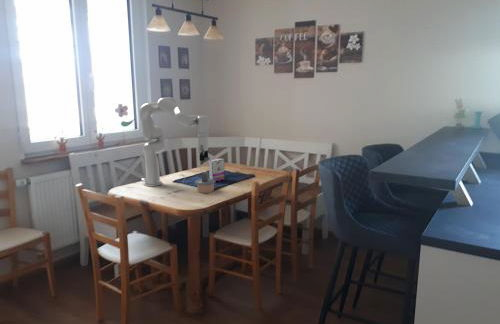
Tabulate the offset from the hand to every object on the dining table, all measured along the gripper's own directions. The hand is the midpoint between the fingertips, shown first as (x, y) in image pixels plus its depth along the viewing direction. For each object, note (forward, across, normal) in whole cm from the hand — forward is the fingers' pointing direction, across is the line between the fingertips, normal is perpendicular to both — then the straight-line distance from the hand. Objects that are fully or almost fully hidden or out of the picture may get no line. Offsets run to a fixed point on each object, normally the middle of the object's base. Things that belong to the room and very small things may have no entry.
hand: (204, 159), depth 270 cm
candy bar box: (+23, -27, +3) cm, 35 cm away
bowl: (+22, 0, +1) cm, 22 cm away
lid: (+16, 0, 0) cm, 16 cm away
